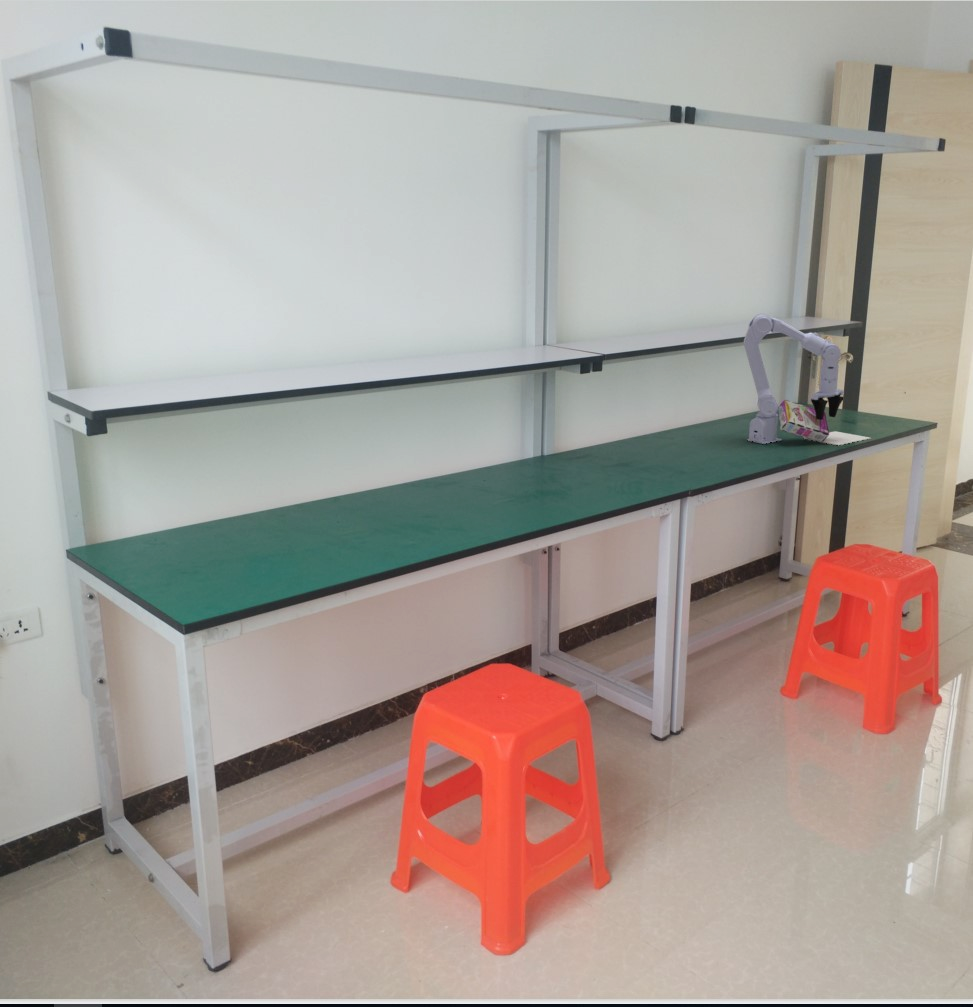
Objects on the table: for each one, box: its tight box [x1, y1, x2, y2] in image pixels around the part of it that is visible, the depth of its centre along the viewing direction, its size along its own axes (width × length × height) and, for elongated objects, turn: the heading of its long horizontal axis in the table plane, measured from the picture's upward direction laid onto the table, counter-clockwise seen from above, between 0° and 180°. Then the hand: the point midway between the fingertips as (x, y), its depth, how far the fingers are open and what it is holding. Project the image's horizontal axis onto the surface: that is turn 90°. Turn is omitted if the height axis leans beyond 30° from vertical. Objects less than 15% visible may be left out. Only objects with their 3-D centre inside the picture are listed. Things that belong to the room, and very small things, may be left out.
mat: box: [803, 430, 872, 447], centre depth 343 cm, size 18×15×1 cm
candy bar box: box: [777, 399, 830, 444], centre depth 338 cm, size 11×5×16 cm
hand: (825, 418), depth 337 cm, fingers open, 6 cm apart
